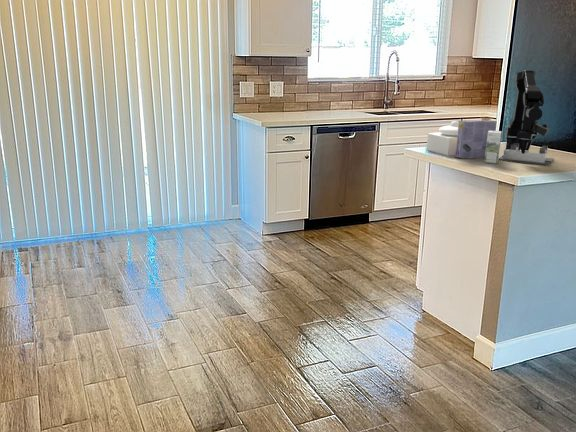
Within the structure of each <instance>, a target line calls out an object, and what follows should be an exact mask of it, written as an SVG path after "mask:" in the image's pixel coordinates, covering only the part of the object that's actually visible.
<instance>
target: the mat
mask: <svg viewBox="0 0 576 432" xmlns="http://www.w3.org/2000/svg"><path fill="white" fill-rule="evenodd" d="M501 160H502V162H503V161H504V162H511V161H512V162H513V163H522V164H531V165H539V166H540V165H541V166H549V165H551V164H552V162H547V161H546V162H545V163H537V162H528V161H519V160H509V159H503V157H502V156H499V159H498V161H501Z"/></svg>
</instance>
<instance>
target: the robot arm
mask: <svg viewBox="0 0 576 432" xmlns="http://www.w3.org/2000/svg"><path fill="white" fill-rule="evenodd" d="M514 83H515V84H514V85H515V87H516V89H517V92H516V93H517V94H516V100H515V105H514V112H513V117H512V119H510V121H509V122H508V126H506V130H505V133H504V138H505V139H506V145H505V149H504V150H506V149H509V150H510V148H511V145H513V143H518V144H519V147H518V150H519V151H521V152H522V153H523V154H524V153H525V151H529V150H530V147H531V145H532V143H533V141H534V139H536V138H537V136H538V135H541V136H543V137H546V135H547V134H548V132H549V130H550V128H548V126H549V125H548V124H547V123H544V124H539V123H538V120H540V119H542V117H543V111H542V109H541V108H540V107H543V106H544V104H545V98H544V95H543V92H542V90H541V88H540V87H538V85H537V82H536V71H535V70H533V69H524V70H522V71H520V72H517V73H515V75H514Z"/></svg>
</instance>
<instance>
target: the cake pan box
mask: <svg viewBox="0 0 576 432" xmlns="http://www.w3.org/2000/svg"><path fill="white" fill-rule="evenodd" d="M497 122H498V121H497V120H458V123H459V126H458V136H457V146H456V155H454V157H456V158H459V159H477V158H478V159H480V158H481V159H482V158H484V159H485V153H486V144H487V136H488V131H489V130H491V131H497V130H496V128H497Z"/></svg>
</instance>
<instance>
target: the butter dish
mask: <svg viewBox="0 0 576 432" xmlns="http://www.w3.org/2000/svg"><path fill="white" fill-rule="evenodd" d="M458 126H459V121H457V120H452V121H451V122H450V124H449V125H445V126H444V125H443V126H440V127H439V128H438V132H428V133H427V140H426V151H428V152H432V153H434V154H435V153H436V154H438V155H439V154H440V155H443V156H445V157H446V156H447V157H453V156H454V157H455V155H456V146H457V136H458Z"/></svg>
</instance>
